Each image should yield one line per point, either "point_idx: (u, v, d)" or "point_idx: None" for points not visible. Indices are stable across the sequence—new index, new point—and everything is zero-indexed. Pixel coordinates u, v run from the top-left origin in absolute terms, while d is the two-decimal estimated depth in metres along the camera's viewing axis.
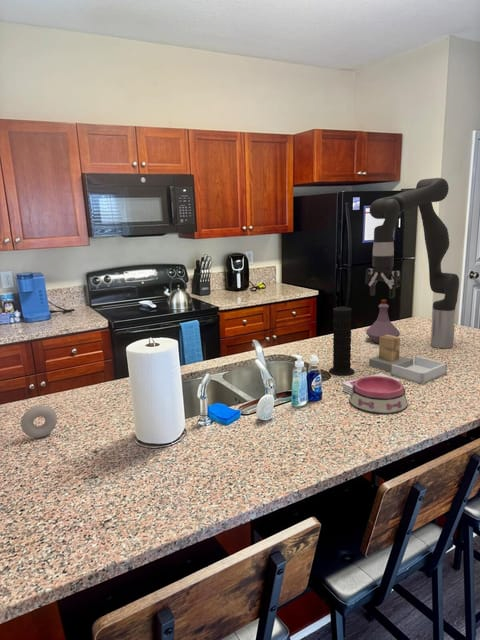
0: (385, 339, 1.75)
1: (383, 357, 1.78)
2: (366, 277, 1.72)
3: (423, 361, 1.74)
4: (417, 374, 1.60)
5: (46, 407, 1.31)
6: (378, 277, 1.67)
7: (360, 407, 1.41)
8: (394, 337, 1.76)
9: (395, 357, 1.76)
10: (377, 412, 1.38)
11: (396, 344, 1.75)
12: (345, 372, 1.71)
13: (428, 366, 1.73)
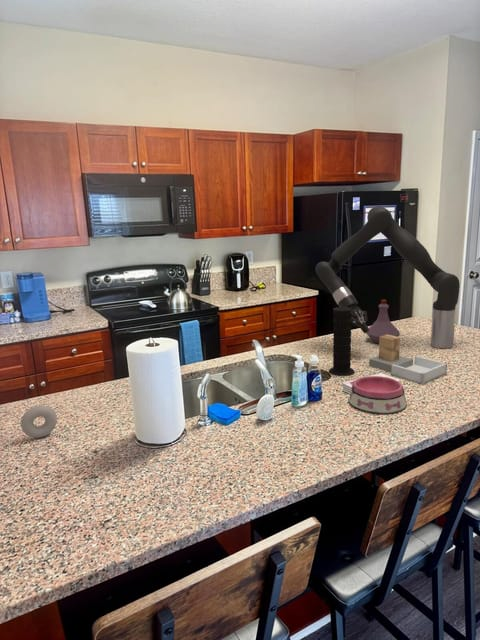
0: (385, 339, 1.75)
1: (383, 357, 1.78)
2: None
3: (423, 361, 1.74)
4: (417, 374, 1.60)
5: (46, 407, 1.31)
6: None
7: (359, 407, 1.41)
8: (394, 337, 1.76)
9: (395, 357, 1.76)
10: (376, 412, 1.38)
11: (396, 344, 1.75)
12: (345, 372, 1.71)
13: (428, 366, 1.73)
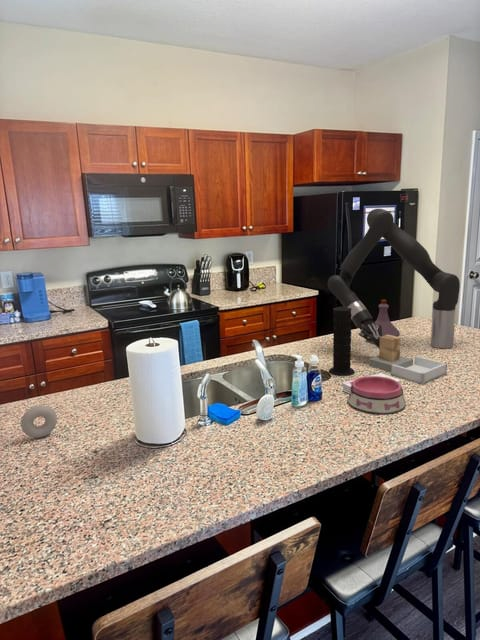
0: (385, 339, 1.75)
1: (383, 357, 1.78)
2: None
3: (423, 361, 1.74)
4: (417, 374, 1.60)
5: (46, 407, 1.31)
6: None
7: (358, 407, 1.41)
8: (394, 337, 1.76)
9: (396, 357, 1.76)
10: (375, 412, 1.38)
11: (396, 344, 1.75)
12: (345, 372, 1.71)
13: (428, 366, 1.73)
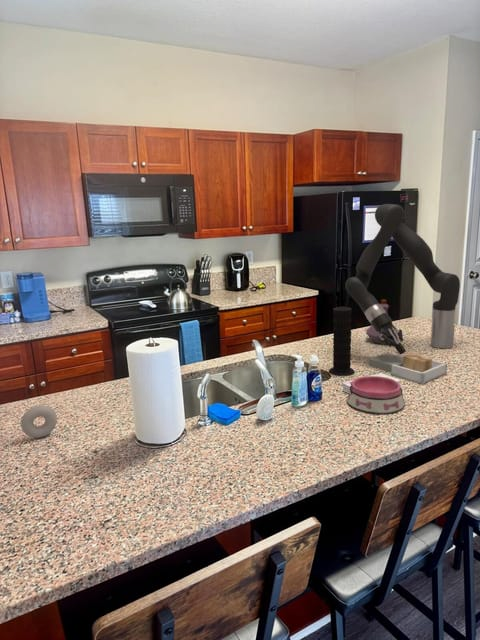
0: (422, 368, 1.64)
1: (404, 362, 1.70)
2: None
3: None
4: (417, 374, 1.60)
5: (46, 407, 1.31)
6: None
7: (358, 407, 1.41)
8: None
9: None
10: (375, 412, 1.38)
11: None
12: (345, 372, 1.71)
13: None
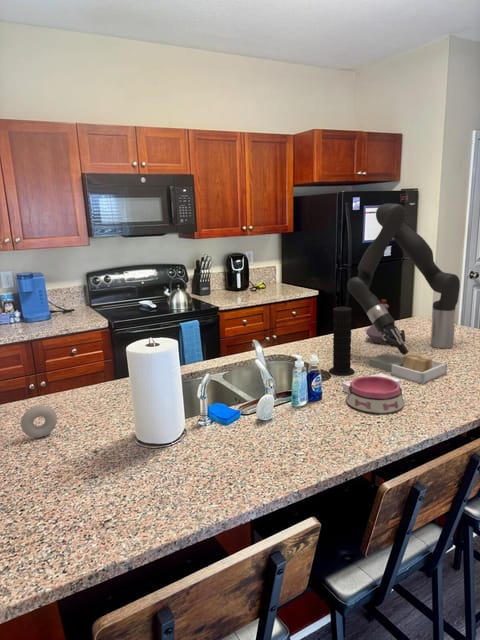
0: (422, 368, 1.64)
1: (404, 362, 1.70)
2: None
3: None
4: (417, 374, 1.60)
5: (46, 407, 1.31)
6: None
7: (357, 407, 1.41)
8: None
9: None
10: (374, 412, 1.38)
11: None
12: (345, 372, 1.71)
13: None
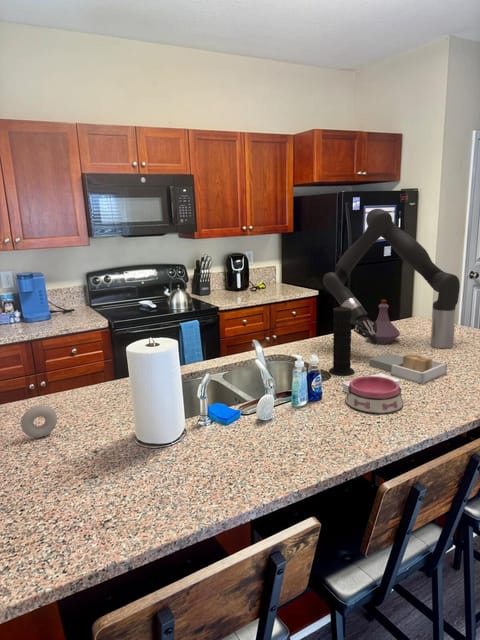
0: (422, 368, 1.64)
1: (404, 362, 1.70)
2: None
3: None
4: (417, 374, 1.60)
5: (46, 407, 1.31)
6: None
7: (356, 407, 1.41)
8: None
9: None
10: (373, 412, 1.38)
11: None
12: (345, 372, 1.71)
13: None
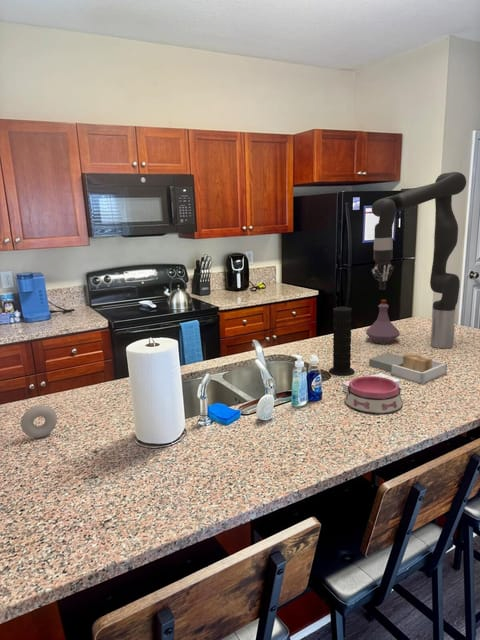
0: (422, 368, 1.64)
1: (404, 362, 1.70)
2: None
3: None
4: (417, 374, 1.60)
5: (46, 407, 1.31)
6: None
7: (356, 407, 1.41)
8: None
9: None
10: (373, 412, 1.38)
11: None
12: (345, 372, 1.71)
13: None
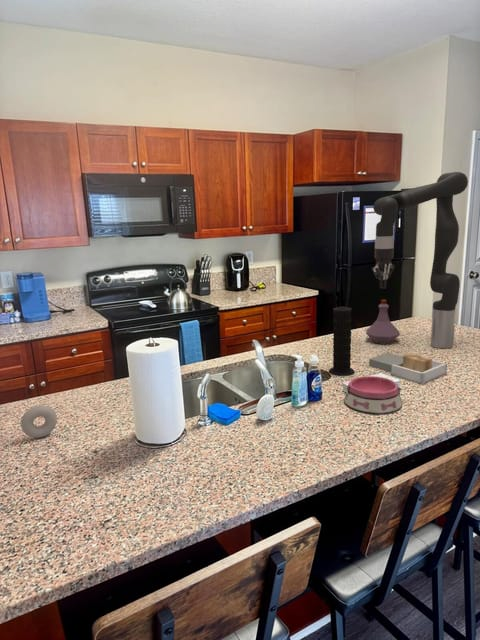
0: (422, 368, 1.64)
1: (404, 362, 1.70)
2: None
3: None
4: (417, 374, 1.60)
5: (46, 407, 1.31)
6: None
7: (355, 407, 1.41)
8: None
9: None
10: (372, 412, 1.38)
11: None
12: (345, 372, 1.71)
13: None
